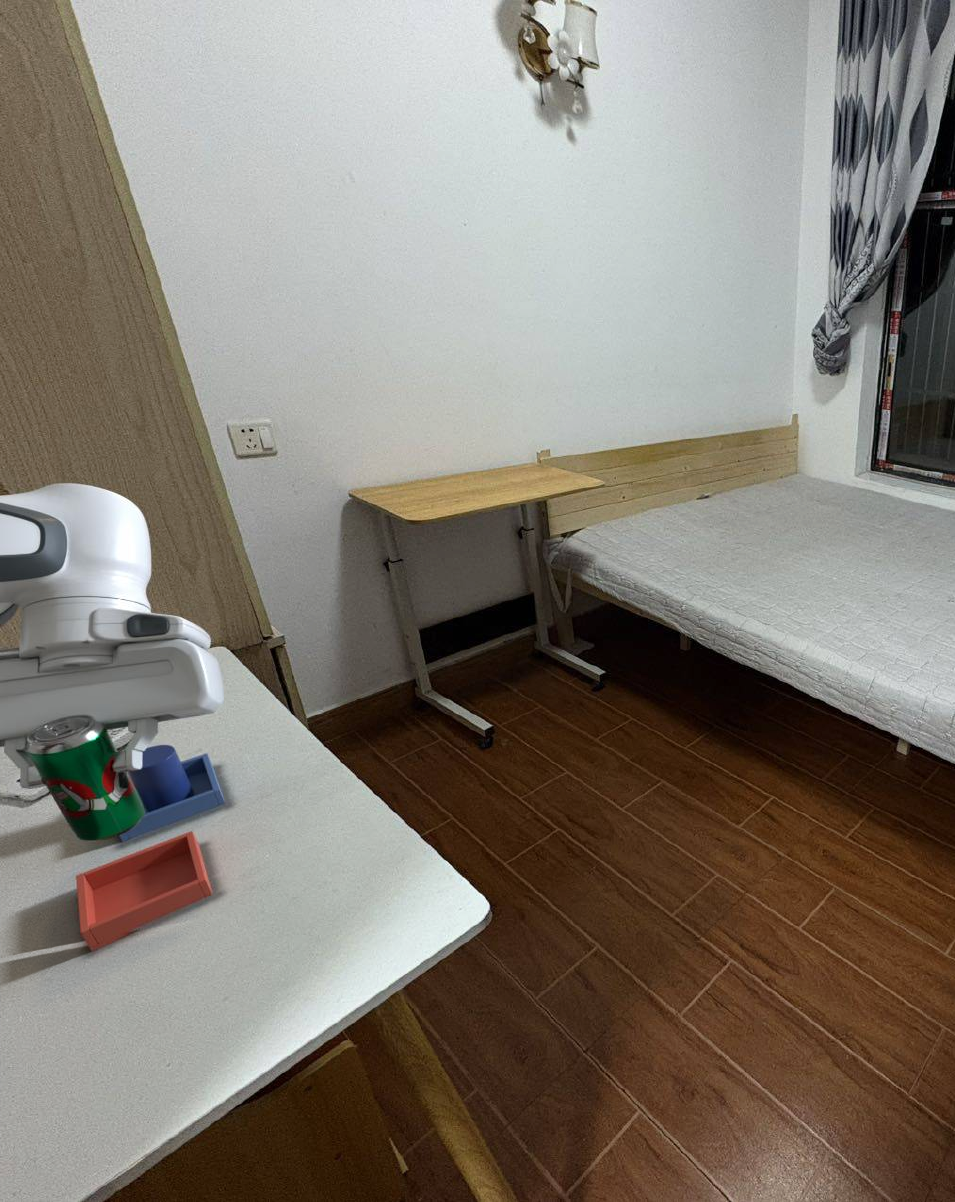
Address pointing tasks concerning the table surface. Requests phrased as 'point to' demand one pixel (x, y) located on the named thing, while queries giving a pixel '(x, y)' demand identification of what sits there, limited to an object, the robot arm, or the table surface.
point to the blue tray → (203, 799)
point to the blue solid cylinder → (161, 778)
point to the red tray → (140, 889)
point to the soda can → (85, 777)
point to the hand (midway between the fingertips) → (83, 778)
